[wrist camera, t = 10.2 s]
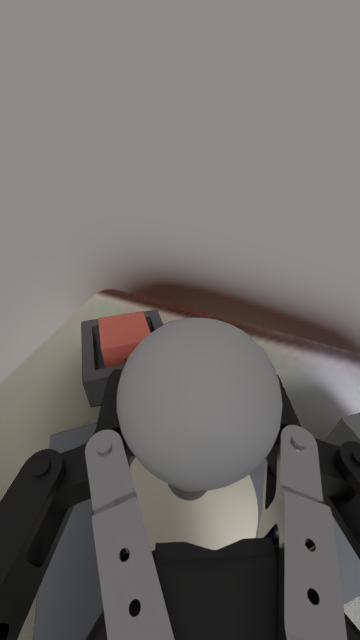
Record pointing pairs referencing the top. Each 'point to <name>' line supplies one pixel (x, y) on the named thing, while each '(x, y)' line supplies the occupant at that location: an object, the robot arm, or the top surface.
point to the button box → (93, 358)
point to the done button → (121, 336)
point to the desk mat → (153, 541)
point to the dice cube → (346, 431)
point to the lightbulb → (199, 405)
